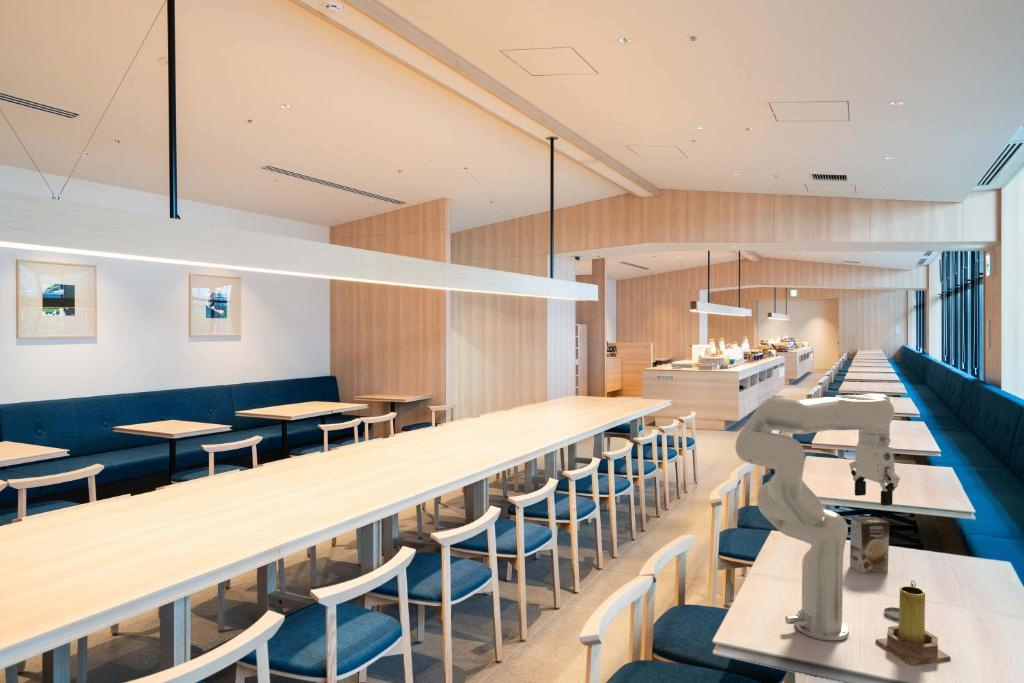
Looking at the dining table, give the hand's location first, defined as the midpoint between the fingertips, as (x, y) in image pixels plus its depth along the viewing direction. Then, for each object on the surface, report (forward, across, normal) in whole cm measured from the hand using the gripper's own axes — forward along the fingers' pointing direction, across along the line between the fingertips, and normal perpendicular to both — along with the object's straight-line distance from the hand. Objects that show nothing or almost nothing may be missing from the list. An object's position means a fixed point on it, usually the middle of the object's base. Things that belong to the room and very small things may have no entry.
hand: (873, 500), depth 182 cm
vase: (+30, -22, +8) cm, 38 cm away
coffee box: (+31, +23, -19) cm, 43 cm away
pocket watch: (+31, -7, -4) cm, 32 cm away
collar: (+30, -22, +8) cm, 39 cm away
